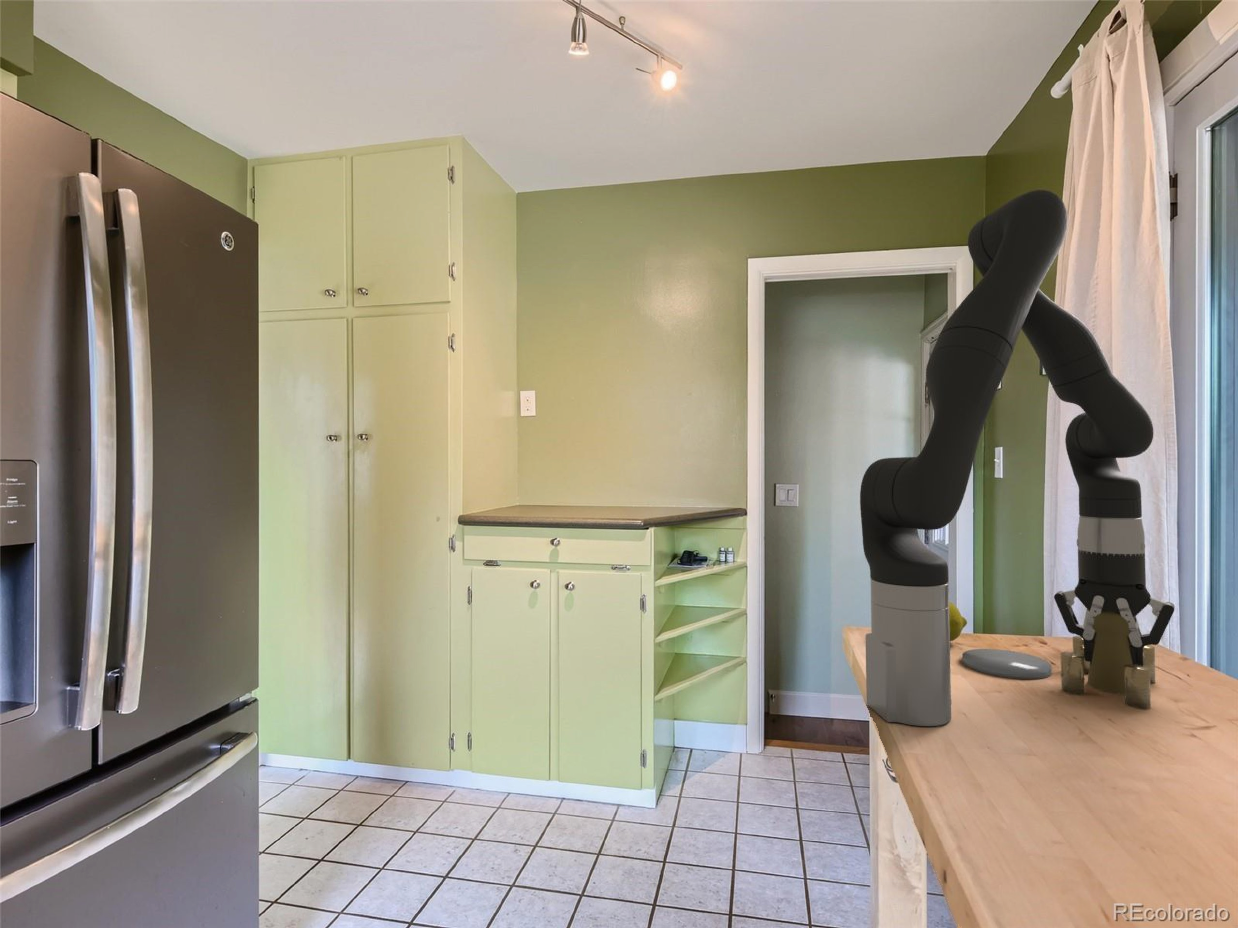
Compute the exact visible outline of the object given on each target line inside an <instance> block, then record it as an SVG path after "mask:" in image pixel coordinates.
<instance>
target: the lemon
mask: <svg viewBox="0 0 1238 928" xmlns="http://www.w3.org/2000/svg"><path fill="white" fill-rule="evenodd" d="M967 624H968V621H967V619H966V617H964V616H962V614H961V612H960V610H959V608H958V607H957V605H955V604H954V603H953V602H951V601H949V629H950V642H953V641H955V640H957V638H959V637H960V635H961V633H962V631H963V629H964V628H965V627H966V626H967Z"/></svg>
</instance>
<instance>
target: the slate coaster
mask: <svg viewBox="0 0 1238 928" xmlns="http://www.w3.org/2000/svg"><path fill="white" fill-rule="evenodd" d="M961 659H962V660H961V661H962V663H963V665H965V666H966V665H967V666H966V667H968V668H969V667H970V668H969V669H972V670H974V671H977V672H980V673H984V674H986V675H987V674H988V675H991V676H995V677H1003V678H1009V679H1016V680H1019V679H1020V680H1040V679H1045V678H1048V677H1050V676H1051V675H1053V666H1052V663H1050V662H1049V661H1047V660H1046V659H1043V658H1041V657H1039V656H1035V655H1031V654H1029V653H1024V652H1020V651H1013V650H1008V649H999V648H998V649H997V648H974V649H969V650H966V651H964V652H963V653H962V658H961Z"/></svg>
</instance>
